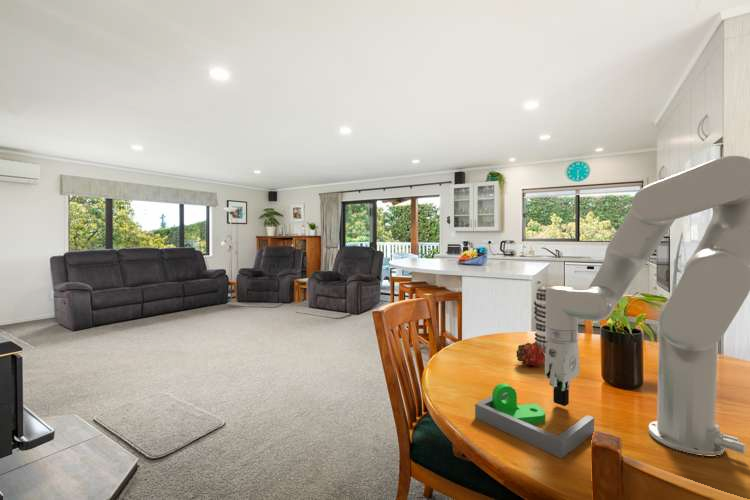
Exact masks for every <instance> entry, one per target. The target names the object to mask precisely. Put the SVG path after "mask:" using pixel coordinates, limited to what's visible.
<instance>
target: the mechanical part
mask: <svg viewBox="0 0 750 500" xmlns="http://www.w3.org/2000/svg"><path fill="white" fill-rule="evenodd" d="M514 389H515V388H514V387H512V386H511V385H510V384H508V383H505V382H500V383H499V384H497V385H495V387H494V388H493V390H492V395H491V396H492V408H494V409H496V410H498V411H501V412H503V413H505V414H508V415H510V416H512V417H515V418H517V419H519V420H522V421H524V422H526V423H529V424H531V425H535V424H536V425H537V424H543V423H545V422H546V411H545V409H544V408H542V407H541V406H540V405H539V404H538V403H527V404H518V394H517V391H516V389H515V390H514ZM504 393H508V396H507V398H506V399H505V400H501V397H502V395H503V394H504Z"/></svg>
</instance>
